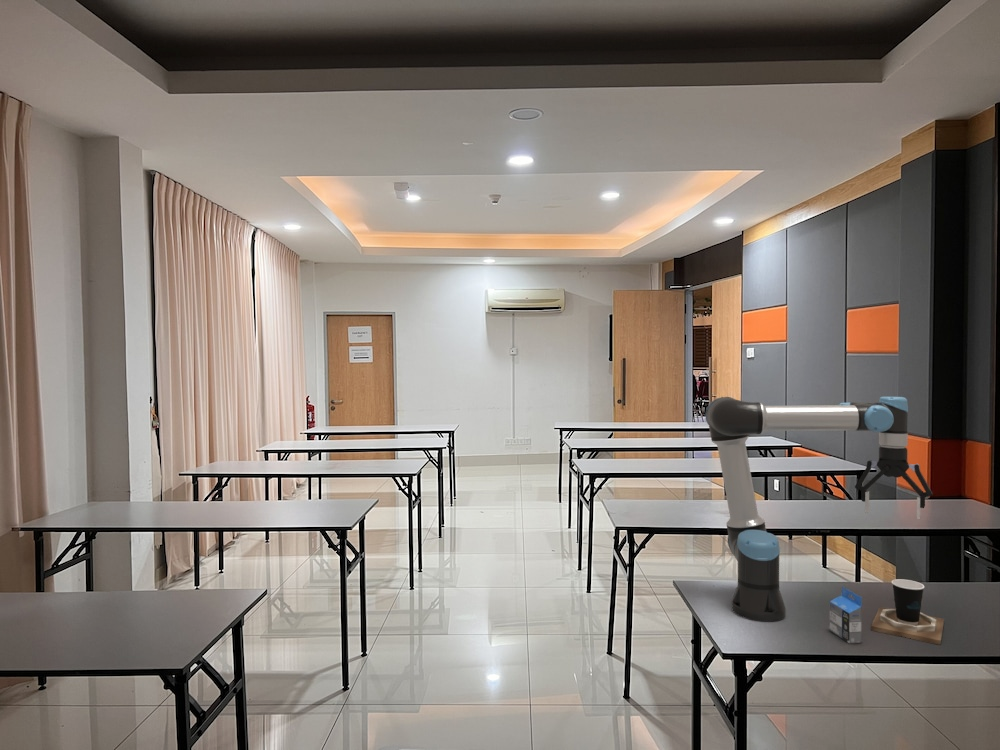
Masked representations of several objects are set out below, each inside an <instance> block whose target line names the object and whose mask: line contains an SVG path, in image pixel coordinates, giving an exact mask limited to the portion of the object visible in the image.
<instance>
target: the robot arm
mask: <svg viewBox="0 0 1000 750" xmlns="http://www.w3.org/2000/svg"><path fill="white" fill-rule="evenodd" d="M705 421H706V423H707V425H708V427H709V433H710V439H711V442H712V443H714V445H716V446H717V451H718V457H719V461H720V463H719V464H720V469H721V474H722V479H723V485H724V490H725V496H726V501H727V505H728V506H727V507H728V513H729V519H728V520H727V521H726V524H725V525H726V529H727V535H728V536H727V546H728V549H729V550H730V552H731V554H732V555H733V556H734V558H735V559H736V562H737V586H736V588H735V591H734V593H733V597H732V600H731V610H732V612H733V613H734V614H736V615H738V616H739V617H742V618H745V619H748V620H752V621H758V622H778V621H781V620H783V619H785V618H786V616H787V615H786V613H787V612H786V611H787V610H786V609H787V608H786V605H785V602H784V599H783V596H782V593H781V590H780V552H781V547H780V541H779V539H778V537H777V536H776V535H775V534H773V533H771V532H768V531H767V527H766V523H765V520H764V518H762V517H761V516H760V515H759V512H758V511H759V510H758V508H757V506H758V505H757V500H756V496H755V489H754V485H753V477H752V472H751V468H750V463H749V456H748V450H747V446H746V445H747V444H746V442H747V440H748V439H749V437H750V435H762V434H764V432H775V431H776V432H782V431H783V432H784V431H785V432H789V431H790V432H791V431H792V432H794V431H795V432H796V431H798V432H800V431H801V432H802V431H804V432H805V431H806V432H807V431H810V432H812V431H819V432H820V431H822V432H823V431H825V432H827V431H831V432H833V431H838V432H840V431H842V432H843V431H845V432H846V431H847V432H849V431H854V432H855V431H858V432H859V431H861V432H863V431H867V432H868V431H869V432H874V433H878V445H880V446H879V447H878V461H873V460H871V459H869V460H867V461H866V467H865V469H864V470H863V471H862V474H861V475H860V477H859V479H858V481H857V483H856V484H855V485H854V488H855V489H856V490H859V491H860V492H861V502H865V503H864V504H865V506H864V507H865V509H864V511H865V514H869V512H870V490H868V489H869V488H870V487H872V486H873V485H874V483H876V482H877V481H878V480H879V479H880V478H881V477H882V476H883V475H884V476H885V477H887V478H888V477H889V478H891V477H894V478H901V477H902V479H904V480H905V481H906V483H908V485H909V486H910V487H911V488H912V489H913V491H915V492H916V494H917V497H916V520H920V519H921V511H922V510H921V509H925V507H926V498H927V497H931V496H933V491H932V490H931V488H930V486H929V484H928V482H927V481H926V479H925V478H924V477H925V476H924V475H923V473H922V472H921V467H920V466H921V465H920V464H919V463H915V464H912V463H911V464H909V462H908V448H907V447H908V442H909V441H908V439H909V438H908V437H909V436H908V435H909V433H908V426H909V425H908V424H909V422H908V421H909V404H908V399H907V398H906V397H904V396H881V397H879V400H878V402H851V401H849V402H840V403H839V404H837V405H835V404H833V405H832V404H831V405H830V404H829V405H824V404H822V405H820V404H819V405H815V404H814V405H808V404H807V405H764V404H763V403H762V402H757V401H756V402H755V401H754V402H752V401H743V400H738V399H736V398H733V397H730V396H721V397H718V398H715V399H714V400H712V401H711V402H709V404H708V406H706V409H705ZM876 466H877V468H878V469H879V471H878V473H877V474H875V475H874V476H873V477H872V478H871V479H870V480H869V481H868V482H867V483H866V484H865V485H864V486H863V483H864V481H865V480H866V478H867V476H868V475H869V473H870V471H871V470H872V469H874V468H875V467H876ZM909 469H910V470H911V471H912V472H914V473H915V474H916V477H917V479H918V481H919V482H920V484H921V486H922V487H923V489H921V488H920V487H919V485H918V484H917V483H916V482H915V481H914V480H913V479H912V478H911V476H909V474H908V473H907V471H908V470H909ZM923 490H924V491H925V492H924V491H923Z"/></svg>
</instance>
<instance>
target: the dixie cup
mask: <svg viewBox="0 0 1000 750" xmlns="http://www.w3.org/2000/svg"><path fill="white" fill-rule="evenodd" d="M891 584H892V588H893V589H892V590H893V599H894V609H896V617H897V618H898V622H900V623H905V624H910V625H918V621H919V617H920V612H921V610H922V600H923V593H924V589H925V587H926V586H925V585H924V584H923V583H920V582H918V581H915V580H911V579H903V578H902V579H901V578H898V579H892V580H891Z"/></svg>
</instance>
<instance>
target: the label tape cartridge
mask: <svg viewBox="0 0 1000 750" xmlns="http://www.w3.org/2000/svg"><path fill="white" fill-rule="evenodd" d="M850 596H852V597H853V598H852V597H850ZM862 604H863V597H862V596H860V595H859V594H856V593H855V592H853V591H851V590H849V589H847V588H846V587H844V586H841V595H839V596H837V597H835V598H833V599H832V600H829V631H830V632H831V633H833V634H835V635H836V636H837V637H839V638H840V639H842V640H843V641H845V642H846V643H848V644H850V645H852V644H854V645H855V644H862V606H863V605H862Z"/></svg>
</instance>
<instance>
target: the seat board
mask: <svg viewBox="0 0 1000 750" xmlns="http://www.w3.org/2000/svg"><path fill="white" fill-rule="evenodd" d="M944 626H945V619H944V618H942V617H935V616H930V615H927V614H925V613H923V612H921V611H920V617H919V621H918V625H910V624H905V623H900V622H898V618H897V617H896V608H890V607H889V608H888V607H882V606H879V607H878V610H877V612H876V614H875V616H874V619H873V620H872V623H871V626H870V631H873V632H878V633H882V634H883V633H884V634H886V635H892V636H897V637H901V636H902V637H901V638H905V637H906V638H905V639H910V638H911V640H915V641H920V642H925V643H930V644H933V645H941V644H942V643H941V642H942V637H943V633H944Z"/></svg>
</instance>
